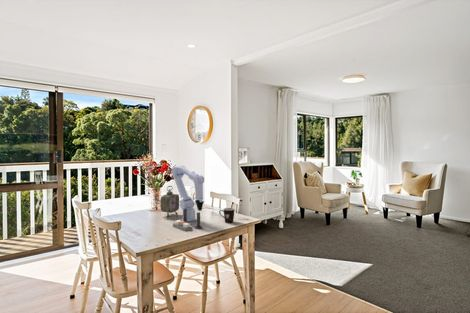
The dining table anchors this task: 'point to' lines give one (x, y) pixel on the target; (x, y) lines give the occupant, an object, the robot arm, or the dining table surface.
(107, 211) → the dining table surface
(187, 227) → the breaker panel
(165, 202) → the tabletop clock
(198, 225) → the cord post right
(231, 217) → the coffee mug
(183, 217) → the cord post left
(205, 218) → the dining table surface
